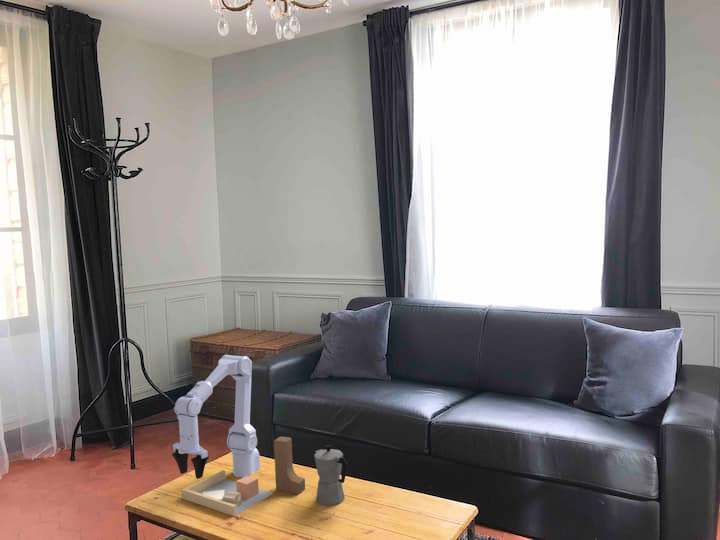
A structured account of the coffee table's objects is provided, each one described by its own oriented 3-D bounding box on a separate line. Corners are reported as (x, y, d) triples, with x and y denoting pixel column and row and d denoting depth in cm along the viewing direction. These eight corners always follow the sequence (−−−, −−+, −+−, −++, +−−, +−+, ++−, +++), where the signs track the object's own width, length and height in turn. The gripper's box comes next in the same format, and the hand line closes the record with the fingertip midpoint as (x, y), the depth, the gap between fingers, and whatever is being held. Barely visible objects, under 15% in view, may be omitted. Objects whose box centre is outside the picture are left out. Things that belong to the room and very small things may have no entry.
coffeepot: (306, 497, 194) (304, 444, 193) (328, 488, 200) (326, 436, 199) (337, 513, 183) (334, 456, 181) (359, 503, 189) (357, 448, 188)
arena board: (223, 480, 210) (222, 470, 209) (274, 495, 196) (273, 484, 196) (182, 500, 195) (181, 489, 195) (234, 518, 181) (233, 506, 181)
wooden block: (305, 491, 199) (303, 438, 198) (299, 496, 195) (296, 443, 194) (282, 487, 203) (280, 435, 201) (275, 492, 199) (273, 440, 197)
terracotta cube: (247, 490, 200) (247, 475, 199) (258, 493, 197) (258, 478, 196) (237, 495, 195) (236, 481, 195) (247, 499, 193) (247, 484, 192)
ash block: (229, 503, 190) (229, 491, 190) (240, 504, 189) (240, 492, 188) (223, 509, 186) (222, 496, 186) (234, 510, 185) (233, 498, 185)
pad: (202, 492, 199) (202, 492, 199) (224, 490, 200) (224, 489, 200) (201, 501, 192) (201, 501, 192) (223, 499, 193) (223, 498, 193)
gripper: (164, 434, 191) (166, 475, 192) (194, 442, 183) (196, 484, 184) (182, 427, 197) (184, 467, 198) (211, 434, 188) (214, 476, 189)
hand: (191, 475), depth 191 cm, fingers open, 7 cm apart
